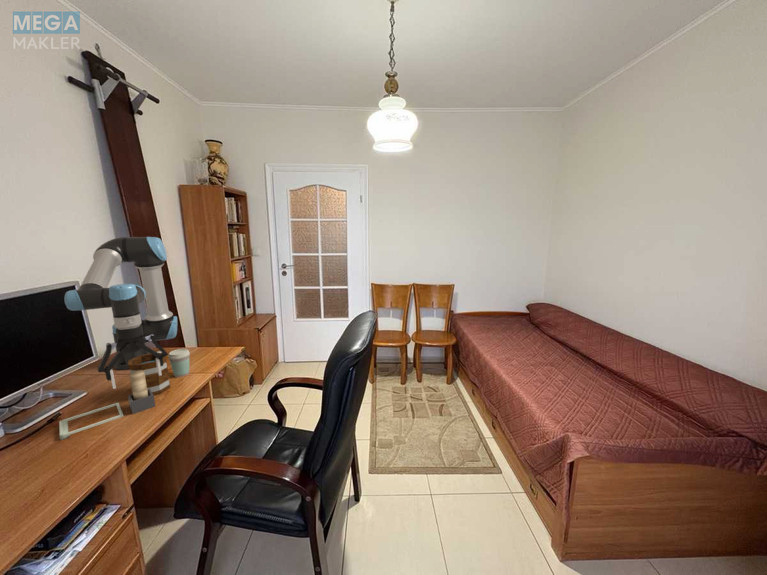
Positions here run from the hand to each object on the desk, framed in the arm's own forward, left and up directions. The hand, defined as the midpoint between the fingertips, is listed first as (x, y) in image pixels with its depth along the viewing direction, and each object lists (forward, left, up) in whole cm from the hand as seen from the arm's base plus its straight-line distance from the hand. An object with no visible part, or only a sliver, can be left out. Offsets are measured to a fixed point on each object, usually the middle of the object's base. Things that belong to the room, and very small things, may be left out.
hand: (138, 380), depth 115 cm
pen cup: (0, 0, -12) cm, 12 cm away
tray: (-4, -14, -12) cm, 19 cm away
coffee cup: (-20, +18, -12) cm, 30 cm away
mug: (-15, +7, -12) cm, 21 cm away
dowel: (0, 0, -11) cm, 11 cm away
